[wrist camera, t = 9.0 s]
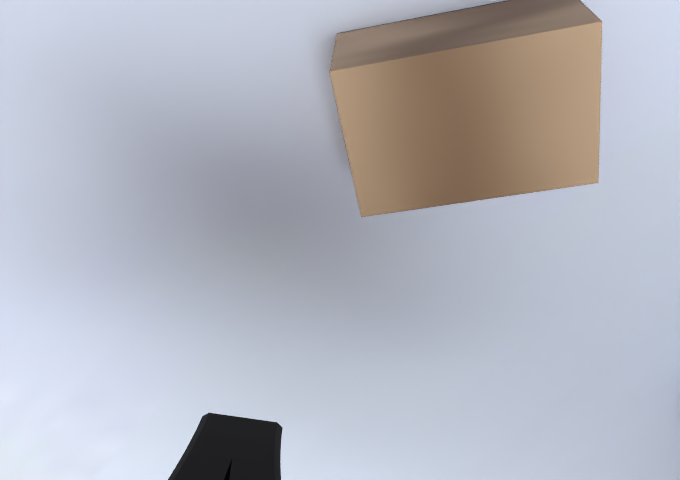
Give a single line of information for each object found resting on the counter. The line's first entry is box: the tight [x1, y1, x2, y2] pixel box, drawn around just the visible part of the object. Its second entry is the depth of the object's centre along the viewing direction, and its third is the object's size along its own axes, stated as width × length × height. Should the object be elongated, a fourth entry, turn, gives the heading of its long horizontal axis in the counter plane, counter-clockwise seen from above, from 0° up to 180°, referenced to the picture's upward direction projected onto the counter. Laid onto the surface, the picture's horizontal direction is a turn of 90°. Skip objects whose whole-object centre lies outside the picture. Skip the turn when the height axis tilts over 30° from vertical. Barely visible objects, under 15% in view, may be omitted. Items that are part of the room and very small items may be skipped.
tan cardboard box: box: [329, 0, 602, 217], centre depth 16 cm, size 6×4×3 cm, turn 102°
